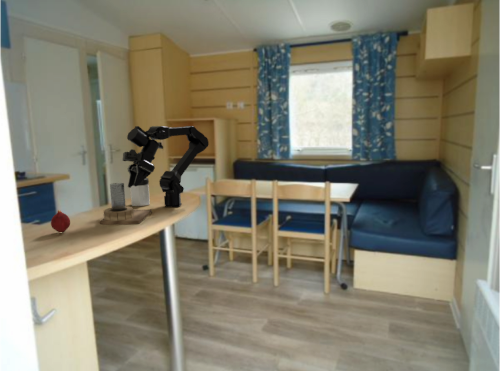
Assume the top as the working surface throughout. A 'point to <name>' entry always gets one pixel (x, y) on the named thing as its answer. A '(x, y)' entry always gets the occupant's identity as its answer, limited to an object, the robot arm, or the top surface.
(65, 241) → the top surface
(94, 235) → the top surface
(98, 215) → the top surface
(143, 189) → the jar
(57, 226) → the pomegranate
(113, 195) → the chrome metal cylinder
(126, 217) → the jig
